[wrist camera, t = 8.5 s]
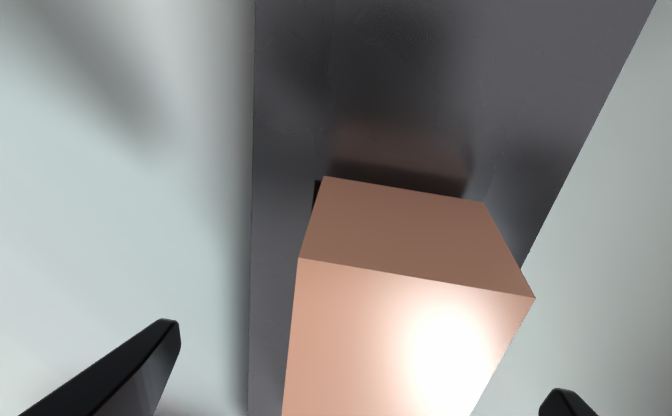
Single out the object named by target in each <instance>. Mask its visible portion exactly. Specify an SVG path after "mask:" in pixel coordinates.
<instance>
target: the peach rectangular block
mask: <svg viewBox="0 0 672 416" xmlns="http://www.w3.org/2000/svg"><path fill="white" fill-rule="evenodd" d="M535 299H536V298H535V296H534V294H533V292H532V290H531V288H530V287H529V285H528V283H527V281H526V279H525V277H524V276H523V274H522V272H521V270H520V268H519V266H518V265H517V263H516V261H515V259H514V257H513V255H512V254H511V252H510V250H509V248H508V246H507V244H506V243H505V241H504V239H503V237H502V235H501V233H500V232H499V230H498V228H497V226H496V224H495V222H494V221H493V219H492V217H491V215H490V213H489V211H488V209H487V208H486V206H485V204H484V202H478V201H473V200H467V199H461V198H455V197H449V196H443V195H437V194H431V193H425V192H419V191H413V190H407V189H401V188H395V187H389V186H383V185H377V184H371V183H365V182H359V181H353V180H347V179H341V178H335V177H329V176H323V179H322V182H321V185H320V189H319V192H318V195H317V198H316V202H315V205H314V208H313V211H312V214H311V218H310V221H309V224H308V227H307V231H306V234H305V237H304V240H303V243H302V247H301V250H300V253H299V256H298V264H297V273H296V283H295V292H294V302H293V311H292V321H291V330H290V340H289V349H288V359H287V368H286V378H285V387H284V396H283V406H282V415H281V416H469V415H470V413H471V412H472V410H473V408H474V406H475V405H476V403H477V401H478V399H479V398H480V396H481V394H482V392H483V390H484V389H485V387H486V385H487V383H488V382H489V380H490V378H491V376H492V375H493V373H494V371H495V369H496V368H497V366H498V364H499V362H500V360H501V359H502V357H503V355H504V353H505V352H506V350H507V348H508V346H509V345H510V343H511V341H512V339H513V337H514V336H515V334H516V332H517V330H518V329H519V327H520V325H521V323H522V322H523V320H524V318H525V316H526V315H527V313H528V311H529V309H530V307H531V306H532V304H533V302H534V300H535Z"/></svg>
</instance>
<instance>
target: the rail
mask: <svg viewBox="0 0 672 416" xmlns="http://www.w3.org/2000/svg"><path fill="white" fill-rule="evenodd" d="M655 2H656V0H256V5H255V56H254V108H253V159H252V210H251V262H250V313H249V364H248V416H281V415H282V406H283V396H284V387H285V378H286V368H287V359H288V349H289V340H290V330H291V321H292V311H293V302H294V292H295V283H296V273H297V264H298V256H299V253H300V250H301V247H302V243H303V240H304V237H305V234H306V231H307V227H308V224H309V221H310V218H311V214H312V211H313V208H314V205H315V202H316V198H317V195H318V192H319V189H320V185H321V182H322V179H323V176H329V177H335V178H341V179H347V180H353V181H359V182H365V183H371V184H377V185H383V186H389V187H395V188H401V189H407V190H413V191H419V192H425V193H431V194H437V195H443V196H449V197H455V198H461V199H467V200H473V201H478V202H484V204H485V206H486V208H487V209H488V211H489V213H490V215H491V217H492V219H493V221H494V222H495V224H496V226H497V228H498V230H499V232H500V233H501V235H502V237H503V239H504V241H505V243H506V244H507V246H508V248H509V250H510V252H511V254H512V255H513V257H514V259H515V261H516V263H517V265H518V266H519V268H520V269H521V267H522V265H523V263H524V261H525V259H526V257H527V255H528V253H529V251H530V249H531V247H532V245H533V243H534V241H535V239H536V237H537V235H538V233H539V231H540V229H541V227H542V225H543V223H544V221H545V219H546V217H547V215H548V213H549V211H550V209H551V207H552V205H553V204H554V202H555V200H556V198H557V196H558V194H559V192H560V190H561V188H562V186H563V184H564V182H565V180H566V178H567V176H568V174H569V172H570V170H571V168H572V166H573V164H574V162H575V160H576V158H577V156H578V154H579V152H580V150H581V148H582V146H583V144H584V142H585V140H586V138H587V136H588V134H589V132H590V130H591V129H592V127H593V125H594V123H595V121H596V119H597V117H598V115H599V113H600V111H601V109H602V107H603V105H604V103H605V101H606V99H607V97H608V95H609V93H610V91H611V89H612V87H613V85H614V83H615V81H616V79H617V77H618V75H619V73H620V71H621V69H622V67H623V65H624V63H625V61H626V59H627V57H628V55H629V54H630V52H631V50H632V48H633V46H634V44H635V42H636V40H637V38H638V36H639V34H640V32H641V30H642V28H643V26H644V24H645V22H646V20H647V18H648V16H649V14H650V12H651V10H652V8H653V6H654V4H655Z"/></svg>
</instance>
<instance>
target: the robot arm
mask: <svg viewBox="0 0 672 416" xmlns="http://www.w3.org/2000/svg"><path fill="white" fill-rule="evenodd" d="M180 348H181V338H180V330H179V324H178V322H177V321H175V320H170V319H164V318H161V319H158V320H157V321H155V322H154V323H152V324H151V325H149V326H148V327H146V328H145V329H143V330H142V331H141V332H139V333H138V334H136V335H135V336H133V337H132V338H130V339H129V340H127V341H126V342H125V343H123V344H122V345H120V346H119V347H117V348H116V349H114V350H113V351H111V352H110V353H108V354H107V355H106V356H104V357H103V358H101V359H100V360H98V361H97V362H95V363H94V364H92V365H91V366H90V367H88V368H87V369H85V370H84V371H82V372H81V373H79V374H78V375H76V376H75V377H74V378H72V379H71V380H69V381H68V382H66V383H65V384H63V385H62V386H60V387H59V388H57V389H56V390H55V391H53V392H52V393H50V394H49V395H47V396H46V397H44V398H43V399H41V400H40V401H39V402H37V403H36V404H34V405H33V406H31V407H30V408H28V409H27V410H25V411H24V412H23V413H21V414H20V415H18V416H153V414H154V412H155V410H156V407H157V405H158V403H159V400H160V398H161V395H162V393H163V391H164V388H165V386H166V383H167V381H168V379H169V376H170V374H171V371H172V369H173V367H174V364H175V362H176V360H177V357H178V355H179V352H180ZM539 416H598V415H597V414H596V413H595V412H594V411H593V410H592V409H591V408H590V407H589V406H588V405H587V404H586V403H585V401H584V400H583V399H582V398H581V397H580V396H579V395H577V394H576V393H575V392H573V391H571V390H566V389H561V388H554V389H553V390H552V391H551V392H550V393H549V395H548V396H547V397H546V399H545V400H544V402H543V403H542V404H541V406H540V408H539Z"/></svg>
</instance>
